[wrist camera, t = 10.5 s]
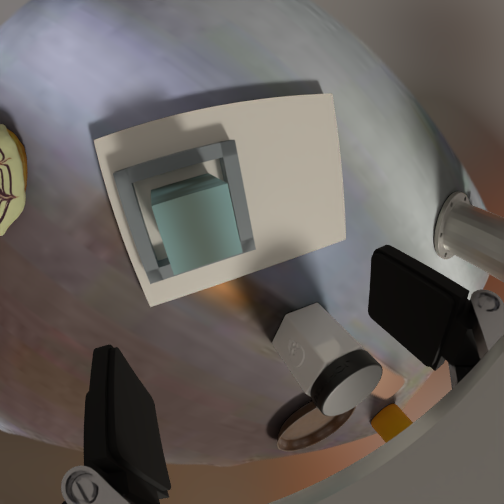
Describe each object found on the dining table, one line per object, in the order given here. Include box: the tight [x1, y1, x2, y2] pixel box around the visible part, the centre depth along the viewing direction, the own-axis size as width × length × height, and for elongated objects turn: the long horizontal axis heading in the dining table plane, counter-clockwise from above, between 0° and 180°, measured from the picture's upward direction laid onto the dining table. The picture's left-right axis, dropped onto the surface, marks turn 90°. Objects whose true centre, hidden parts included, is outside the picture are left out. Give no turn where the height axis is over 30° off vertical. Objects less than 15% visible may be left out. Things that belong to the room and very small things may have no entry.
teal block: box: [151, 173, 242, 275], centre depth 21 cm, size 5×5×6 cm
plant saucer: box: [277, 401, 356, 451], centre depth 47 cm, size 18×18×3 cm
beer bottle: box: [371, 404, 413, 443], centre depth 51 cm, size 9×9×29 cm
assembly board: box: [94, 94, 346, 307], centre depth 24 cm, size 22×16×3 cm
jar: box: [272, 303, 382, 416], centre depth 31 cm, size 9×8×12 cm
